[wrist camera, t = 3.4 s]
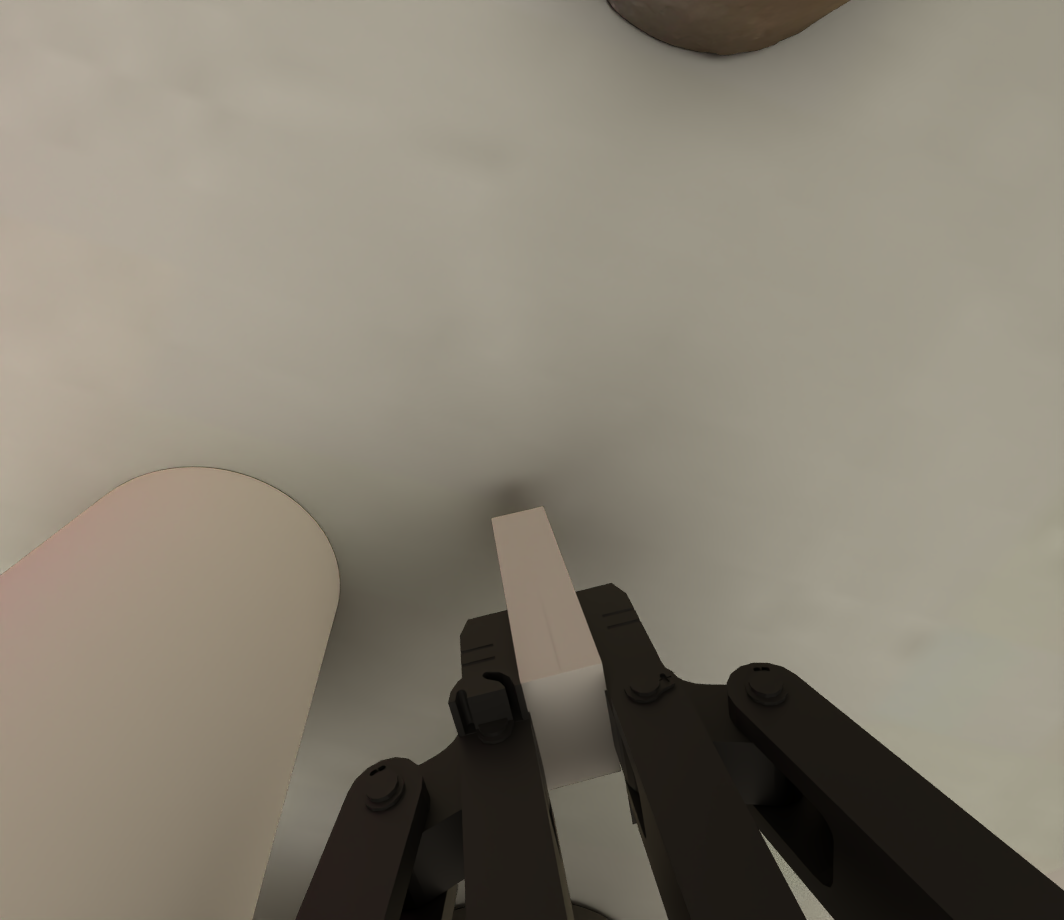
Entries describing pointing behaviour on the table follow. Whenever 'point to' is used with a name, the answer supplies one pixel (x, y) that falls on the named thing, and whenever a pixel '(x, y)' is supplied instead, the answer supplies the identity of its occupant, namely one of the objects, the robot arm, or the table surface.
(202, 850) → the cup
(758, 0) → the pillar candle
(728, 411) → the table surface
